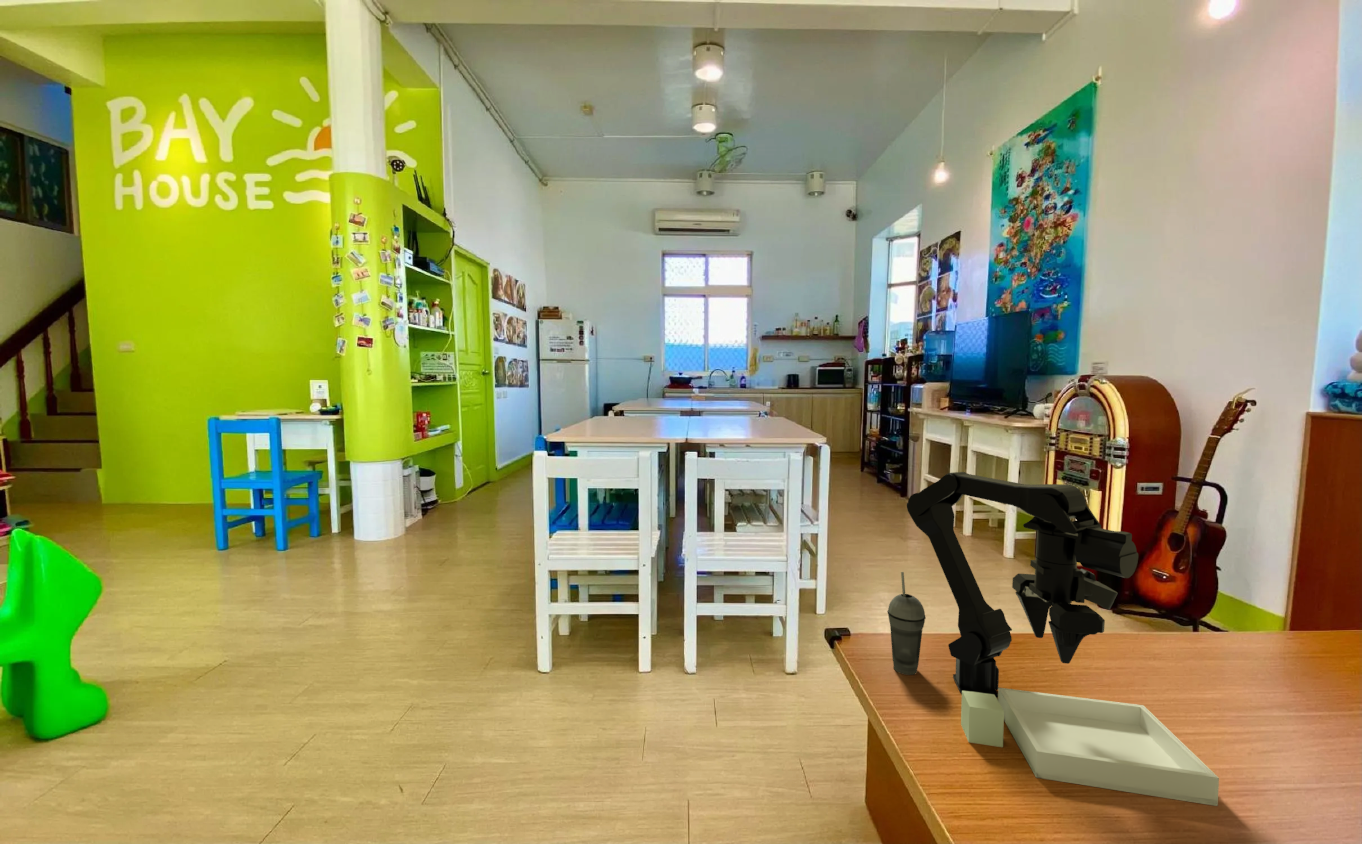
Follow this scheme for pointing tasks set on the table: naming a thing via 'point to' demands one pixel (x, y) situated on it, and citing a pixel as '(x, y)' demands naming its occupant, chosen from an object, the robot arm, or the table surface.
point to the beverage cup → (906, 631)
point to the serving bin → (1105, 746)
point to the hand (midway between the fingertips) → (1051, 649)
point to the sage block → (982, 718)
